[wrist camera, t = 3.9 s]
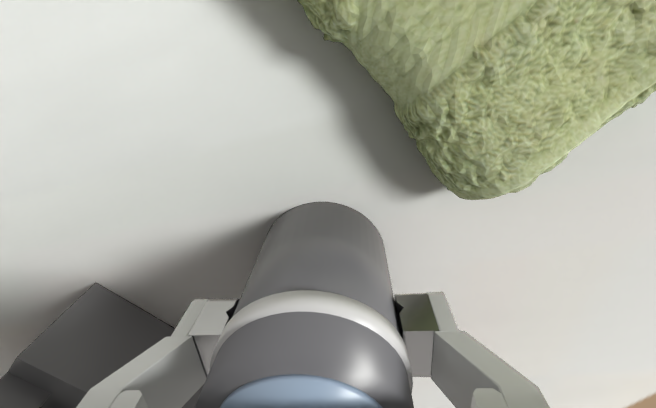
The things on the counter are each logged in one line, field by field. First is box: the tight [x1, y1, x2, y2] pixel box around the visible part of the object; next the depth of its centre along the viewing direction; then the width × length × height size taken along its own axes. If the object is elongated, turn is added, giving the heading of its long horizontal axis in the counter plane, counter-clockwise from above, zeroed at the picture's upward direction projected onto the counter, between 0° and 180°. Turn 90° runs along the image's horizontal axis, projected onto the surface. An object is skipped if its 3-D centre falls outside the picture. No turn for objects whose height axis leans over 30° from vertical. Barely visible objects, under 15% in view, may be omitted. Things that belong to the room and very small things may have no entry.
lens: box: [195, 202, 414, 408], centre depth 11 cm, size 5×5×7 cm
